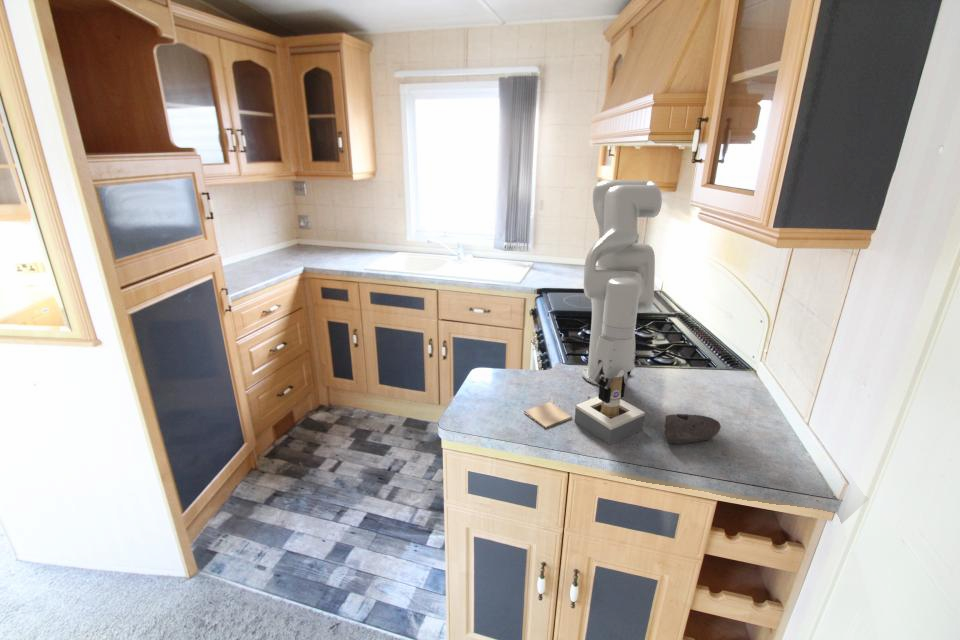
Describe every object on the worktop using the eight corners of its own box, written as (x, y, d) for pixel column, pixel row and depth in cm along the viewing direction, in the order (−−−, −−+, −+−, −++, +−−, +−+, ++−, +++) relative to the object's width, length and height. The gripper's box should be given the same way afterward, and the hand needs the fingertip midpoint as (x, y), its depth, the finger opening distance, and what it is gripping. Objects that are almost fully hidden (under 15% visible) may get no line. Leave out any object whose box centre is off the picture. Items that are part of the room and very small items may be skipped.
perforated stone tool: (712, 432, 115) (717, 408, 113) (724, 444, 110) (729, 420, 108) (654, 435, 114) (658, 411, 112) (664, 448, 109) (668, 423, 107)
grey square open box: (606, 408, 126) (608, 392, 124) (642, 429, 116) (644, 412, 115) (574, 421, 120) (575, 404, 118) (609, 444, 110) (611, 426, 109)
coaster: (549, 403, 129) (549, 401, 128) (571, 418, 121) (572, 416, 121) (524, 412, 124) (524, 410, 124) (545, 428, 117) (545, 426, 117)
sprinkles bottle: (608, 420, 114) (613, 372, 109) (596, 412, 118) (601, 364, 113) (622, 416, 116) (628, 368, 111) (610, 408, 120) (615, 361, 115)
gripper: (629, 319, 116) (622, 383, 122) (581, 332, 108) (575, 400, 114) (654, 328, 110) (645, 395, 116) (605, 342, 102) (598, 414, 108)
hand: (611, 397), depth 115 cm, fingers closed on sprinkles bottle, 4 cm apart
